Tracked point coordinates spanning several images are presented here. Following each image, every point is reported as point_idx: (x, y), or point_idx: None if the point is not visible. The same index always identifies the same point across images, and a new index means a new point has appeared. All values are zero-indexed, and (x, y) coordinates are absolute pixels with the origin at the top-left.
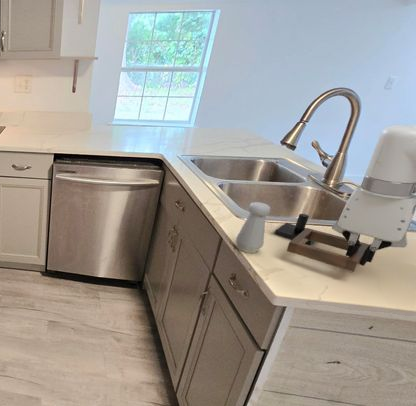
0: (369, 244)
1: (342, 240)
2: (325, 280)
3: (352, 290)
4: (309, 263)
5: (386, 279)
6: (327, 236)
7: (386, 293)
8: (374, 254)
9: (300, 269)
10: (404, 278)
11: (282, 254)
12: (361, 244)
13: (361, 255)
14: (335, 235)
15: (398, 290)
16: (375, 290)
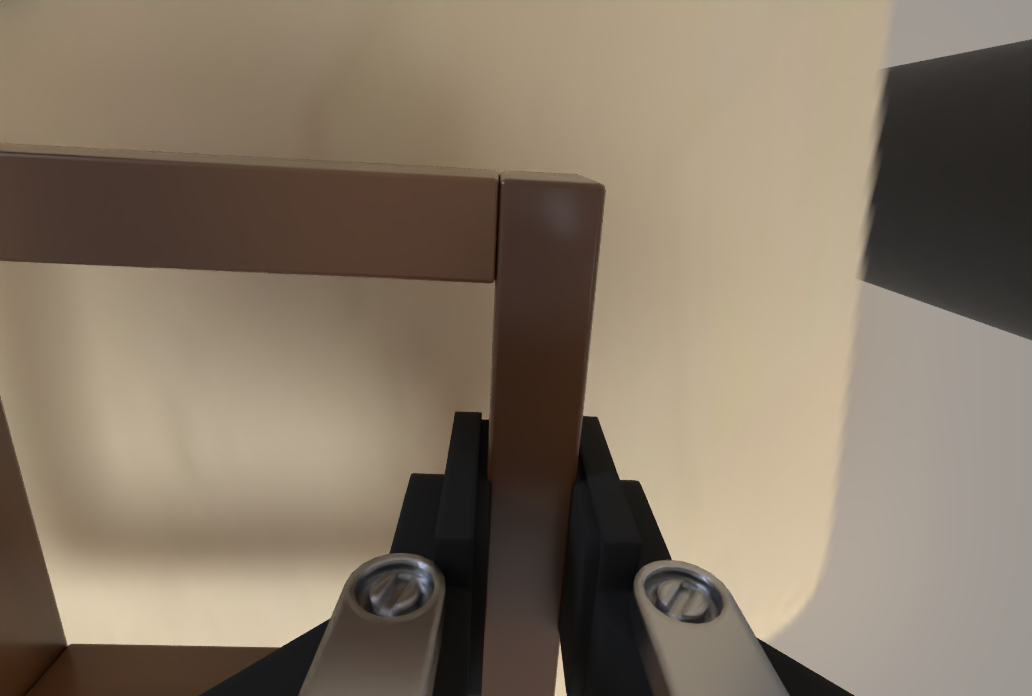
0: (575, 191)
1: (253, 268)
2: None
3: None
4: (238, 461)
5: (727, 285)
6: (49, 262)
7: (725, 521)
8: (657, 528)
9: (242, 606)
10: (850, 135)
11: (22, 463)
12: (487, 282)
13: (547, 649)
14: (101, 167)
15: (791, 416)
16: (668, 532)
